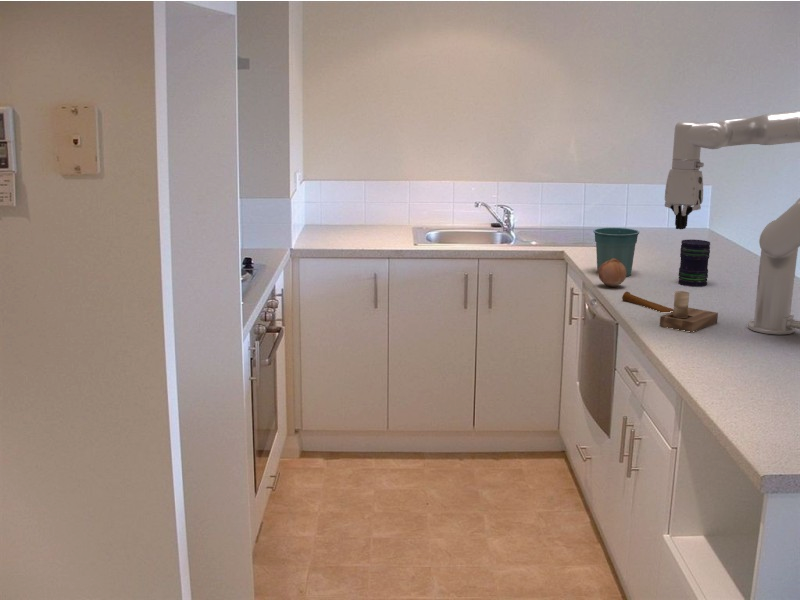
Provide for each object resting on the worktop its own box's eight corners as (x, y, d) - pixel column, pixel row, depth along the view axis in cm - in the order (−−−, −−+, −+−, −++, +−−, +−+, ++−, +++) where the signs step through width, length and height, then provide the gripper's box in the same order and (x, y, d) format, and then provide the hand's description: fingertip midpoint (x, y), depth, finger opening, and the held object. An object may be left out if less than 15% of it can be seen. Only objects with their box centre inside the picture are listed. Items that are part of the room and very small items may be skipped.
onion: (616, 283, 331) (618, 255, 328) (630, 289, 322) (632, 260, 320) (592, 285, 328) (593, 256, 325) (606, 290, 319) (608, 261, 317)
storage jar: (713, 284, 330) (716, 242, 326) (694, 288, 324) (698, 245, 321) (690, 279, 338) (693, 238, 334) (671, 282, 332) (675, 240, 329)
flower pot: (607, 280, 336) (609, 235, 332) (582, 271, 351) (584, 228, 347) (645, 277, 342) (649, 233, 338) (619, 268, 357) (622, 226, 353)
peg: (689, 326, 273) (692, 292, 271) (682, 329, 270) (685, 294, 268) (676, 323, 276) (678, 290, 273) (669, 326, 273) (672, 292, 271)
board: (717, 322, 278) (718, 312, 277) (692, 332, 266) (693, 322, 265) (685, 316, 284) (686, 307, 284) (659, 326, 273) (660, 316, 272)
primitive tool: (676, 312, 291) (677, 301, 290) (665, 315, 288) (666, 303, 287) (628, 301, 306) (628, 290, 306) (616, 303, 303) (617, 292, 302)
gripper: (716, 166, 269) (710, 230, 274) (667, 163, 279) (663, 224, 283) (704, 168, 264) (698, 233, 268) (655, 164, 274) (651, 227, 278)
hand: (680, 228), depth 276 cm, fingers closed
